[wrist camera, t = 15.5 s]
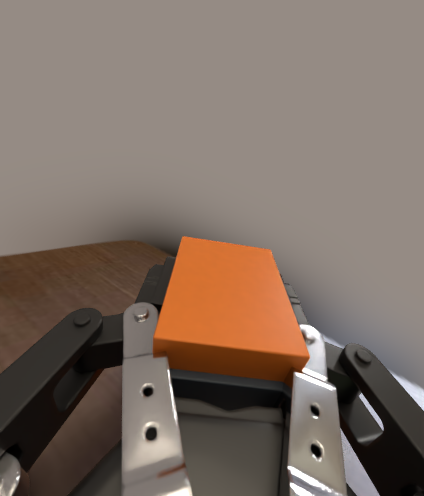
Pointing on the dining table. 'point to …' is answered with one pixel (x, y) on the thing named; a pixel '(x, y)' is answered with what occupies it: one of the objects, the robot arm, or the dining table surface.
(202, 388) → the toy van
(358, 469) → the dining table surface
